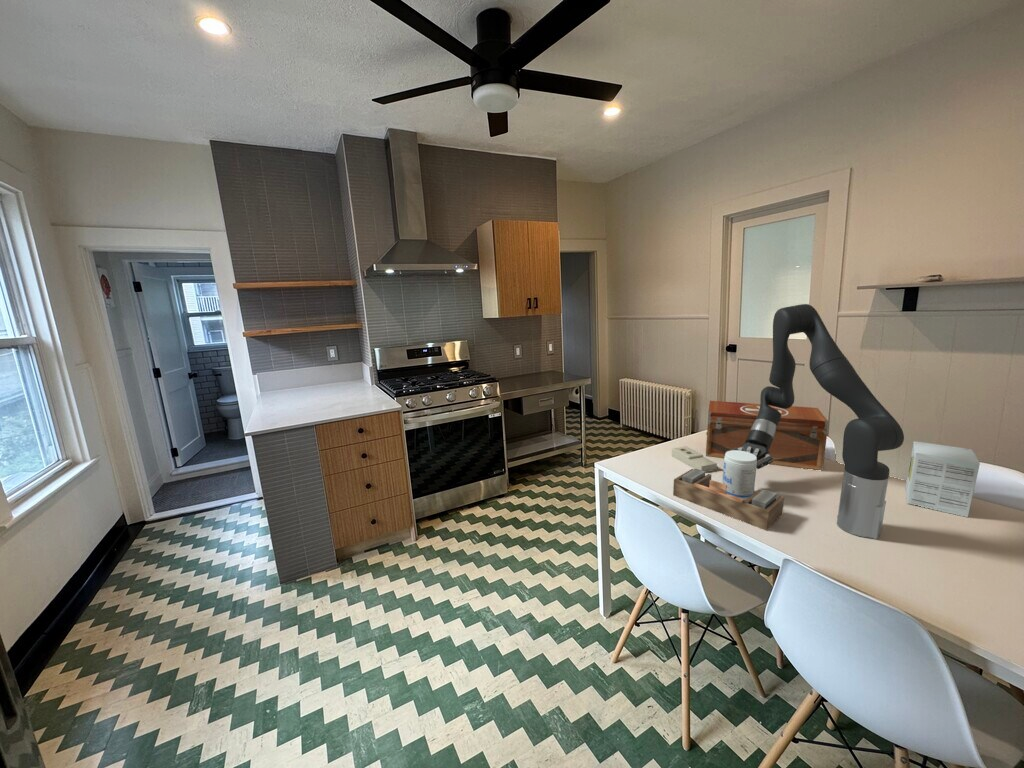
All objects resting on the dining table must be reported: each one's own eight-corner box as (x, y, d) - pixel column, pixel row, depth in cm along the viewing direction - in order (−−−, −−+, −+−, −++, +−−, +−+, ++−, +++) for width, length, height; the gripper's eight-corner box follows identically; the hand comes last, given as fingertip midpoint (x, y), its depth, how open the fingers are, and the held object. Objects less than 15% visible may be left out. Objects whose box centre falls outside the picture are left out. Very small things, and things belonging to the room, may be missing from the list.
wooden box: (823, 472, 147) (830, 422, 143) (704, 456, 166) (707, 412, 162) (813, 453, 165) (818, 407, 161) (706, 441, 184) (709, 400, 180)
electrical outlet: (701, 463, 150) (671, 448, 167) (701, 473, 151) (671, 456, 168) (717, 461, 152) (685, 445, 169) (716, 470, 153) (685, 454, 170)
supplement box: (904, 488, 132) (912, 440, 129) (962, 500, 123) (973, 448, 120) (905, 504, 123) (915, 452, 119) (969, 518, 114) (981, 462, 110)
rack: (782, 514, 120) (785, 485, 118) (766, 530, 113) (769, 499, 111) (691, 483, 143) (692, 459, 141) (673, 495, 135) (674, 469, 133)
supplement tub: (715, 490, 137) (718, 451, 134) (739, 486, 139) (742, 448, 136) (735, 503, 128) (738, 462, 125) (760, 500, 129) (764, 458, 126)
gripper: (739, 425, 143) (721, 465, 138) (780, 433, 133) (762, 477, 128) (744, 435, 147) (727, 474, 143) (784, 444, 137) (767, 487, 132)
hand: (744, 475), depth 135 cm, fingers closed
